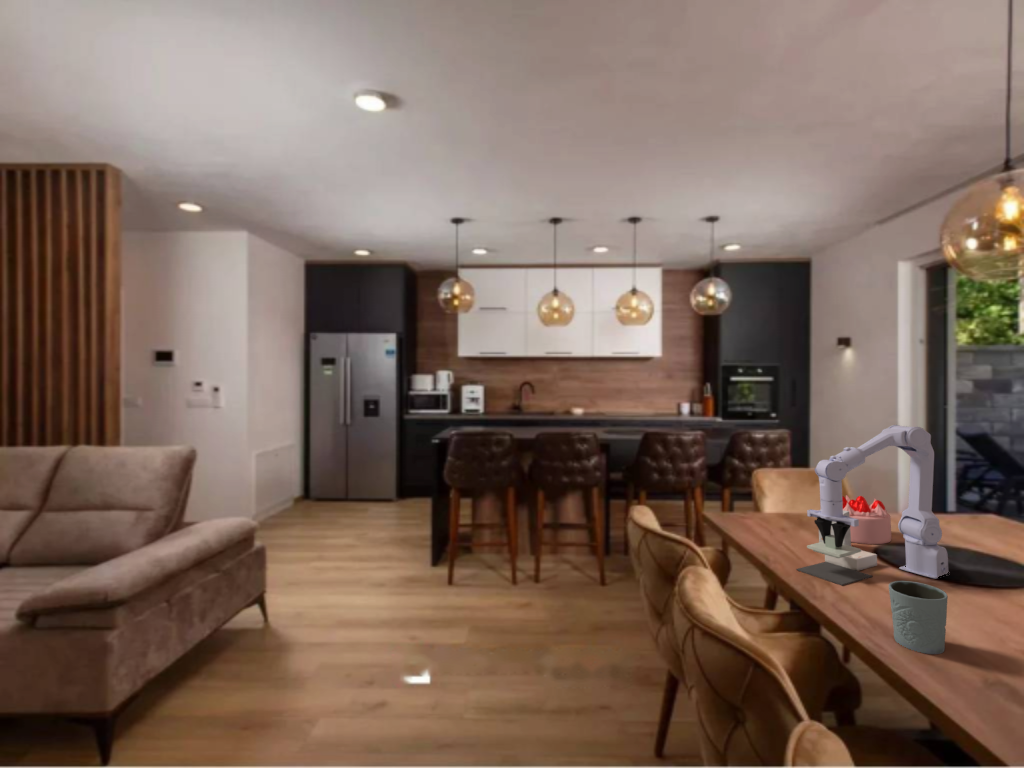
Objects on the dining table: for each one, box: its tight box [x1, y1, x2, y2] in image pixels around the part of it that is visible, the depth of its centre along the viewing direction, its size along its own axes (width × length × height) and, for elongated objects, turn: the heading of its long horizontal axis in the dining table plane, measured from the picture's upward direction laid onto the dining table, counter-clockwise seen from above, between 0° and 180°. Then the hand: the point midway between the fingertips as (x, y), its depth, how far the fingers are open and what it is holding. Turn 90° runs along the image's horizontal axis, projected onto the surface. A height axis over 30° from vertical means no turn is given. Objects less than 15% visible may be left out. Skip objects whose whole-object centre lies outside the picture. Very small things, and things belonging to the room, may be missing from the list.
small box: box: [818, 508, 852, 546], centre depth 175 cm, size 8×6×13 cm
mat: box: [795, 561, 873, 586], centre depth 151 cm, size 14×14×1 cm
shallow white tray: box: [824, 549, 878, 572], centre depth 159 cm, size 10×10×4 cm
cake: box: [842, 494, 892, 545], centre depth 186 cm, size 20×20×14 cm
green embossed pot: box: [888, 580, 949, 655], centre depth 109 cm, size 10×10×12 cm
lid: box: [806, 535, 862, 558], centre depth 151 cm, size 10×10×5 cm
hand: (832, 544), depth 151 cm, fingers closed on lid, 3 cm apart
